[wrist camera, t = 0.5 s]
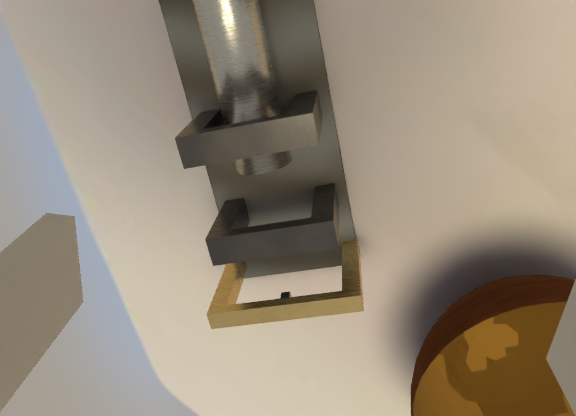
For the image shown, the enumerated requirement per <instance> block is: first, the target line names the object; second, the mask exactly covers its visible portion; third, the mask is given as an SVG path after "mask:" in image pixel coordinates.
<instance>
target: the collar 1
mask: <svg viewBox="0 0 576 416" xmlns="http://www.w3.org/2000/svg"><path fill="white" fill-rule="evenodd" d="M322 119H323V117H322V112H321V107H320V101H319V96H318V90H315V91H309V92H304V93H299V94H296V96H295V99H294V101H293V104H292V107H291V109H290V112H289V113H288V114H282V115H277V116H271V117H266V118H261V119H255V120H250V121H244V122H239V123H234V124H228V125H224V122H223V118H222V114H221V110H220V109H215V110H210V111H204V112H201V113H200V114H199V115H198V116H197V117H196V118H195V119H194V120H193V121H191V122H190V123H189V124H188V125H187V126H186V127H185V128H184V129H183V130H182V131H181V132H180V133H179V134H178V135H177V136H176V137H175V140H176V143H177V147H178V150H179V153H180V157H181V160H182V163H183V167H184V169H186V168H191V167H197V166H203V165H209V164H215V163H220V162H226V161H232V160H238V159H244V158H249V157H255V156H261V155H267V154H273V153H278V152H284V151H290V150H296V149H302V148H307V147H313V146H319V142H320V134H321V126H322Z"/></svg>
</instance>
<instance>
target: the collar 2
mask: <svg viewBox="0 0 576 416" xmlns="http://www.w3.org/2000/svg"><path fill="white" fill-rule="evenodd" d="M249 222H250V219H249V215H248V211H247V207H246V203H245V200H244V198H238V199H232V200H226V201H225V202H224V204H223V206H222V208H221V210H220V212H219V214H218V216H217V218H216V220H215V222H214V224H213V226H212V228H211V229H210V231H209V233H208V235H207V237H206V239H205V240H206V243H207V247H208V250H209V253H210V257H211V260H212V263H213V266H215V265H222V264H230V263H237V262H244V261H251V260H258V259H266V258H273V257H280V256H287V255H294V254H302V253H309V252H316V251H323V250H330V249H338V248H339V204H338V198H337V193H336V188H335V183H332V184H326V185H320V186H315V189H314V197H313V205H312V212H311V218H304V219H297V220H290V221H284V222H277V223H270V224H264V225H257V226H250V227H248V225H249Z"/></svg>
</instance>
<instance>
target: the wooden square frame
mask: <svg viewBox="0 0 576 416" xmlns="http://www.w3.org/2000/svg"><path fill="white" fill-rule="evenodd" d="M246 270H247V267H246V263H245V261H244V262H237V263H230V264H226V267H225V269H224V272H223V274H222V277H221V279H220V282H219V284H218V287H217V289H216V292H215V295H214V297H213V300H212V302H211V305H210V307H209V310H208V312H207V317H208V320H209V323H210V327H211V329H215V328H224V327H232V326H241V325H249V324H258V323H266V322H275V321H283V320H292V319H300V318H309V317H317V316H326V315H334V314H343V313H351V312H360V311H364V307H363V292H362V277H361V261H360V250H359V245H358V239H357V240H350V241H342V291H338V292H330V293H322V294H314V295H306V296H298V297H291V294H290V292H284V293H281V298H280V299H274V300H266V301H258V302H250V303H242V304H236V301H237V298H238V295H239V291H240V288H241V285H242V282H243V279H244V276H245V273H246Z"/></svg>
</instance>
